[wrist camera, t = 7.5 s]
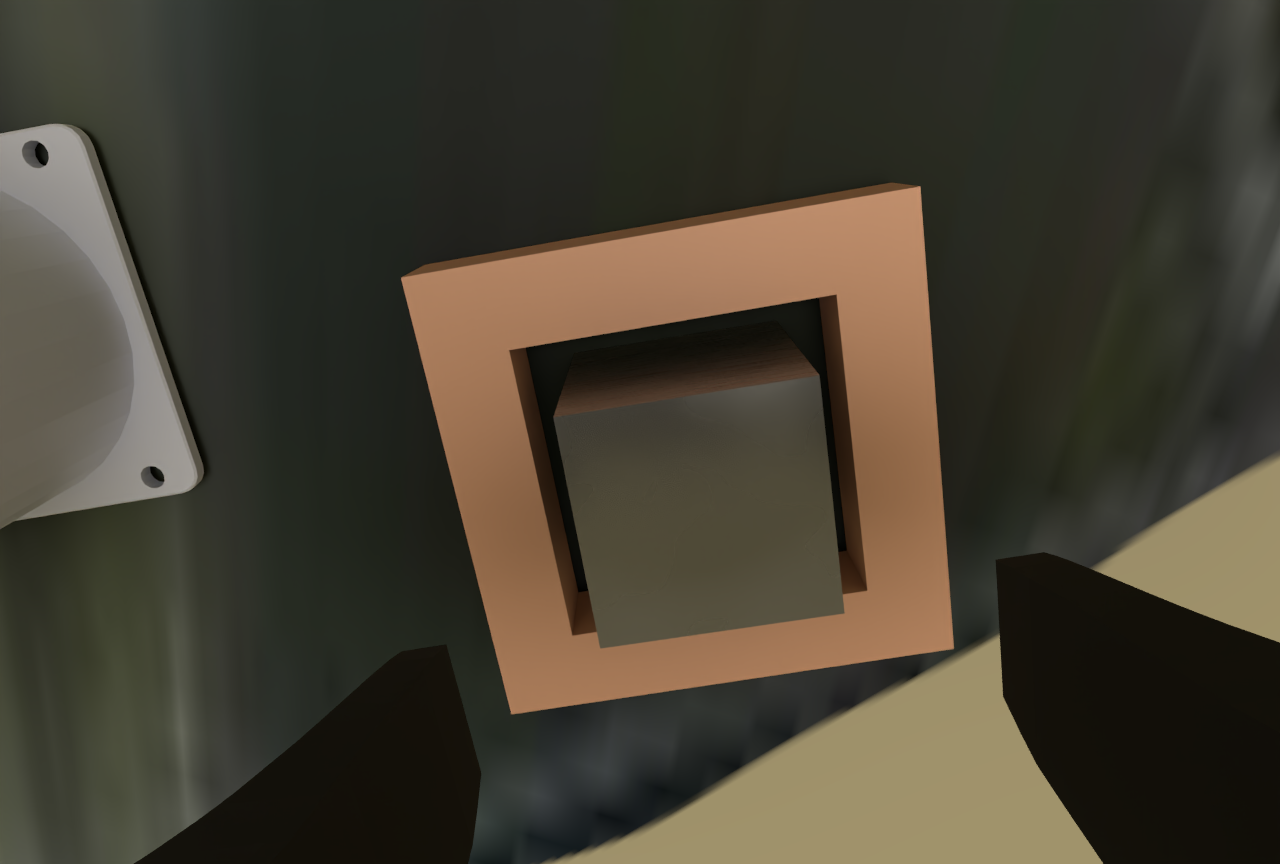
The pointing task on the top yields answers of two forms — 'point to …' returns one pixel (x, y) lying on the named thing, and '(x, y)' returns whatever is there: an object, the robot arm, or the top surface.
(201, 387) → the top surface
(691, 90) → the top surface
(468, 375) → the hole plate
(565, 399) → the steel block
